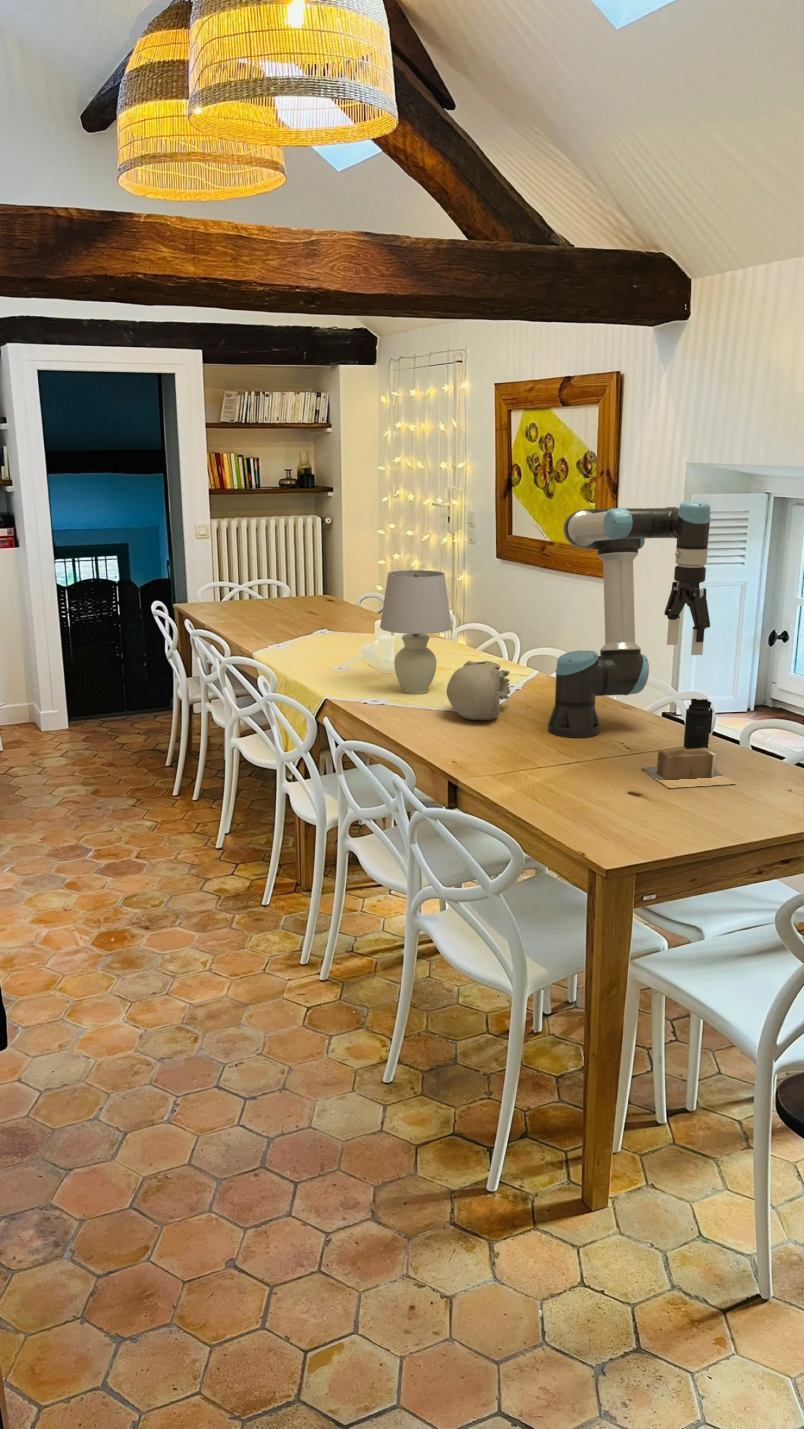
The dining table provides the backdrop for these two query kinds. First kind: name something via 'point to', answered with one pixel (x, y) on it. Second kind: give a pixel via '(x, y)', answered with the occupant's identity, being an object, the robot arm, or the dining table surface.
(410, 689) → the lamp
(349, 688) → the dining table surface
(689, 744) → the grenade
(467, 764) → the dining table surface
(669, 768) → the block
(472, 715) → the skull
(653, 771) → the mat
